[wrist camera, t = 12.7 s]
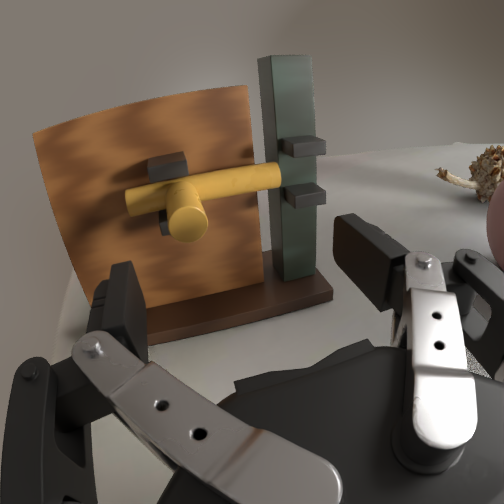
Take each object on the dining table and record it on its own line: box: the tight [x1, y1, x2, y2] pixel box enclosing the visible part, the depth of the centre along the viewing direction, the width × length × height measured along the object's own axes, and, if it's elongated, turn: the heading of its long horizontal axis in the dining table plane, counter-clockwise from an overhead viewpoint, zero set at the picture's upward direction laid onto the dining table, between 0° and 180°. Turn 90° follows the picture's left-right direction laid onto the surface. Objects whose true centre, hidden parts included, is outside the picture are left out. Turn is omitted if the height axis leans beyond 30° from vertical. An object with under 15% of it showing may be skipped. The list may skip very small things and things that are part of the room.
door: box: [33, 55, 333, 346], centre depth 23 cm, size 20×8×19 cm, turn 106°
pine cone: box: [434, 145, 504, 203], centre depth 38 cm, size 22×10×10 cm, turn 102°
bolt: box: [125, 162, 281, 243], centre depth 18 cm, size 10×6×2 cm, turn 106°
